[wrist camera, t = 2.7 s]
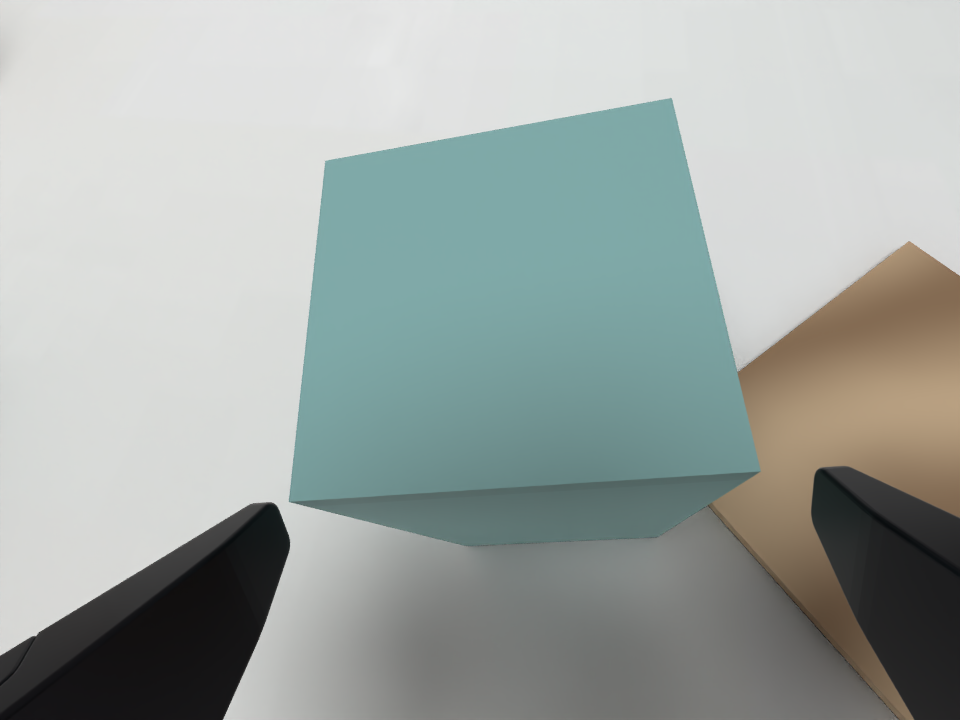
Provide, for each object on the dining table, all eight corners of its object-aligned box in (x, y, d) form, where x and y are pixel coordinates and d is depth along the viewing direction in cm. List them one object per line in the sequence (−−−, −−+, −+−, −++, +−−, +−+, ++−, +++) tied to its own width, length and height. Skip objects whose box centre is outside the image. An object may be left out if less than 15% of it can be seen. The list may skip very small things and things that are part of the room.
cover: (657, 537, 18) (761, 471, 7) (466, 546, 19) (289, 501, 8) (629, 357, 20) (671, 98, 9) (462, 374, 21) (325, 161, 10)
